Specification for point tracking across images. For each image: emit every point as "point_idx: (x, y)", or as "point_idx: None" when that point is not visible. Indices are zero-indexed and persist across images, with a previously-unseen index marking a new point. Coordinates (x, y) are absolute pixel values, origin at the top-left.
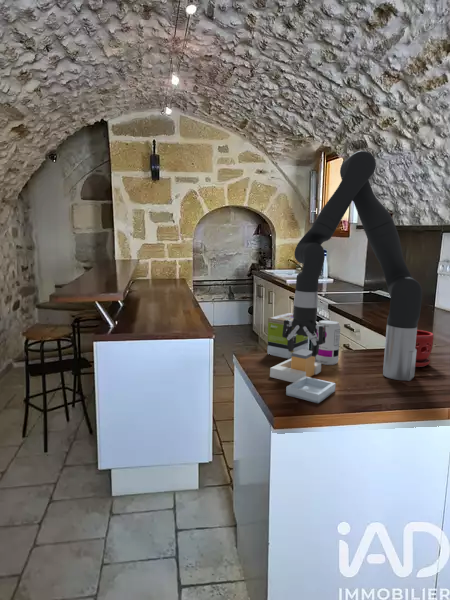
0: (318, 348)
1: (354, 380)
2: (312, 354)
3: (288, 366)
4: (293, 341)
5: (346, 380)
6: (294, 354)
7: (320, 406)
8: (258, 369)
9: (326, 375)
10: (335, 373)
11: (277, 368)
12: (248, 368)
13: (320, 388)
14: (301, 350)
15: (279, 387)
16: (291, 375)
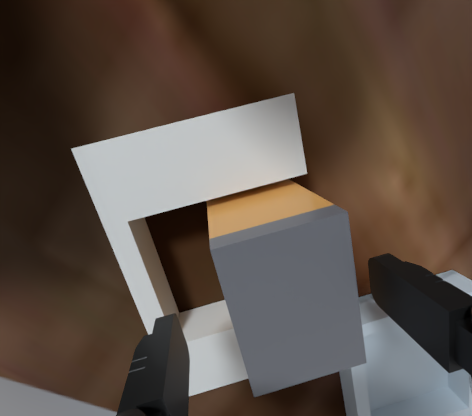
0: (459, 295)
1: (468, 76)
2: (386, 308)
3: (144, 235)
4: (166, 385)
5: (438, 112)
6: (274, 385)
7: None
8: (58, 341)
9: (332, 130)
10: (348, 53)
11: (203, 378)
12: (19, 369)
13: None
14: (248, 288)
15: (288, 397)
16: None
